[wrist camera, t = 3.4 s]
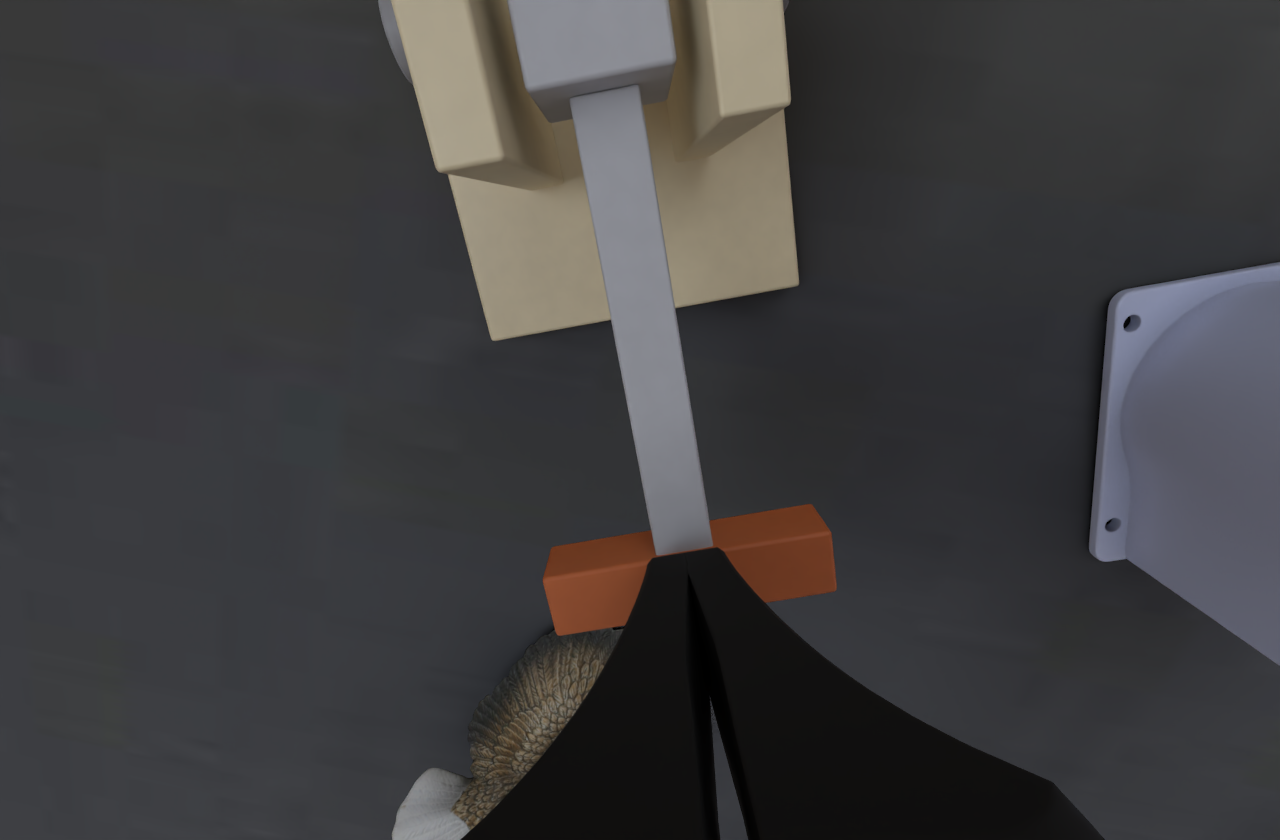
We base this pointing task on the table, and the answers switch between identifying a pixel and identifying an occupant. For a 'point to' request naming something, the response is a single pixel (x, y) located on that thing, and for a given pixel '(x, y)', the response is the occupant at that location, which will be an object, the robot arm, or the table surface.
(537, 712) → the eagle figurine
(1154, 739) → the table surface
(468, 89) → the beige mounting bracket
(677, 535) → the lever
